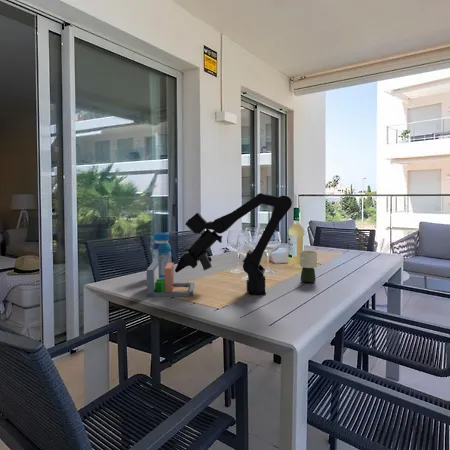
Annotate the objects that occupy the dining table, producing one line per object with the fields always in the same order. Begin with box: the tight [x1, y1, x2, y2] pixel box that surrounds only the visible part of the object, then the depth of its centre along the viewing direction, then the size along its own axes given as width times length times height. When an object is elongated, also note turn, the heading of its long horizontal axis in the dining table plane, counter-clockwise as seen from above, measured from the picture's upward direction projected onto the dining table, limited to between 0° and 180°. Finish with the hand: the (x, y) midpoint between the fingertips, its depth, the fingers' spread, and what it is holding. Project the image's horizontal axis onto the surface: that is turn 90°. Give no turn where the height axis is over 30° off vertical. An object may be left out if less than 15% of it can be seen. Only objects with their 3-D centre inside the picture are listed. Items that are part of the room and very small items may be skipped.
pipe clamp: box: [155, 278, 165, 293], centre depth 139 cm, size 11×4×5 cm, turn 3°
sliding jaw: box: [164, 262, 191, 292], centre depth 140 cm, size 9×11×10 cm
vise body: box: [145, 261, 195, 297], centre depth 140 cm, size 17×15×10 cm
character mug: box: [299, 250, 318, 283], centre depth 153 cm, size 11×7×13 cm, turn 133°
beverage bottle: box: [151, 232, 172, 279], centre depth 160 cm, size 8×8×20 cm
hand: (175, 271), depth 139 cm, fingers closed
